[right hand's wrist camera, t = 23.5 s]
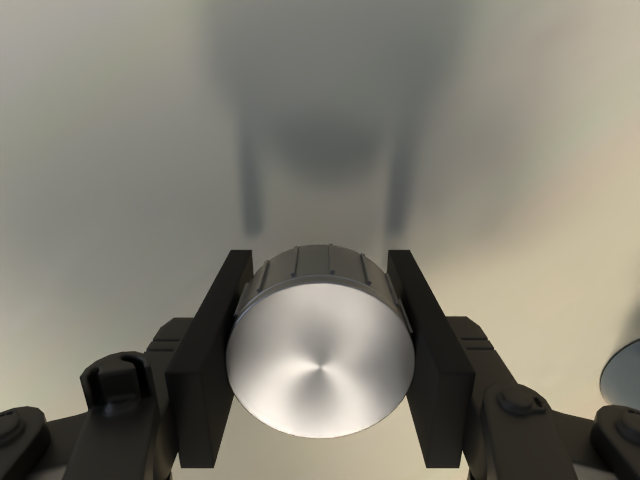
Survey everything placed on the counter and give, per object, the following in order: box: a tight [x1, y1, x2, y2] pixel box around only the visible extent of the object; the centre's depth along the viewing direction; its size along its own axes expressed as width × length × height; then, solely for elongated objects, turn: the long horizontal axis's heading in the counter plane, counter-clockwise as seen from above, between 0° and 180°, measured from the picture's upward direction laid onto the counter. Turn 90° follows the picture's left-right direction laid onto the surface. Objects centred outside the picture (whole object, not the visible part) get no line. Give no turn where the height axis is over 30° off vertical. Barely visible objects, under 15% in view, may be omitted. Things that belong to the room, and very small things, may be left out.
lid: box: [225, 244, 416, 438], centre depth 11 cm, size 5×5×2 cm
